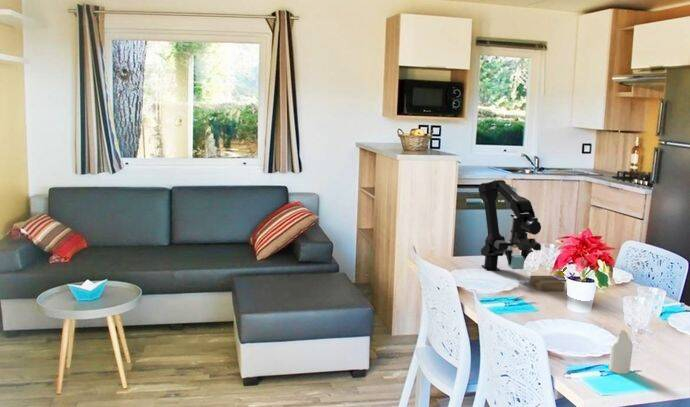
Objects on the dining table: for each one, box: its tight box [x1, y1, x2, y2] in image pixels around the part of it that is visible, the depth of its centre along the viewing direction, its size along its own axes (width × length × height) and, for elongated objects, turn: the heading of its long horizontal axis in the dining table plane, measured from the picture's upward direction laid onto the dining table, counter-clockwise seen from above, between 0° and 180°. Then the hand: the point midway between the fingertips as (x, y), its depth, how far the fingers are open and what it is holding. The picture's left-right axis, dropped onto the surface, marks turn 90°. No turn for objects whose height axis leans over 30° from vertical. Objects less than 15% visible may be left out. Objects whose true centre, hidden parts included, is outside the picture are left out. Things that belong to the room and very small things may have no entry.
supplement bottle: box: [552, 267, 567, 281], centre depth 270 cm, size 7×7×13 cm
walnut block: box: [529, 275, 566, 293], centre depth 256 cm, size 10×10×4 cm
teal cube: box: [507, 254, 525, 270], centre depth 263 cm, size 5×5×5 cm
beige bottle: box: [608, 329, 634, 375], centre depth 179 cm, size 6×12×6 cm
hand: (515, 264), depth 263 cm, fingers closed on teal cube, 5 cm apart
